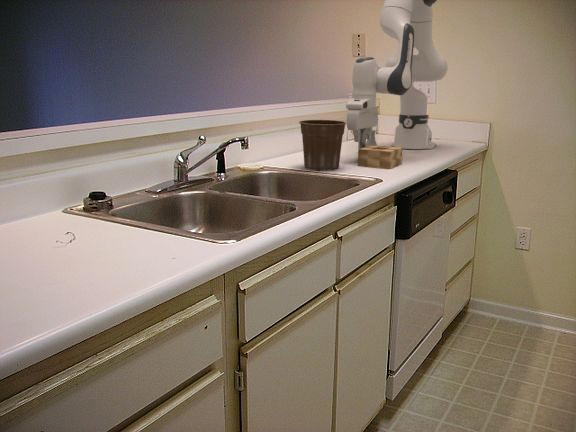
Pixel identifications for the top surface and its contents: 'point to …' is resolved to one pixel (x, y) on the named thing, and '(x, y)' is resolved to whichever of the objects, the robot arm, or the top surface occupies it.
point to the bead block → (380, 156)
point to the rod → (362, 138)
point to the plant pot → (322, 143)
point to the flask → (371, 139)
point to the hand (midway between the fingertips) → (362, 140)
